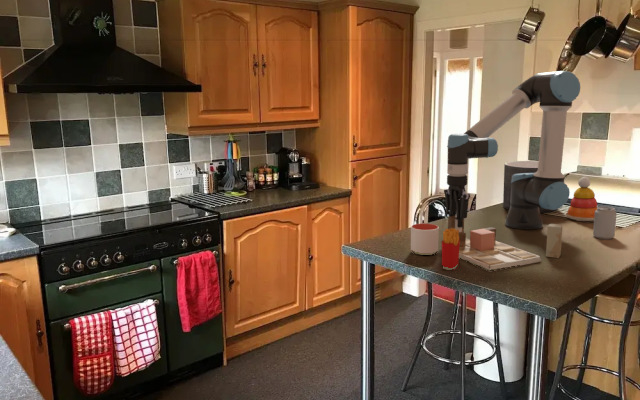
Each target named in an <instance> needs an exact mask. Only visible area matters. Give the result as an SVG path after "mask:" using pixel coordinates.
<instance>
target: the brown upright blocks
mask: <svg viewBox="0 0 640 400" xmlns="http://www.w3.org/2000/svg"><path fill="white" fill-rule="evenodd" d="M455 218H457V214H456V216H449V215H448V217H447V229H450V228H452V229H453V228H455ZM450 230H451V229H450ZM462 232H464V233H465V218H464V219H463V226H462ZM466 246H467V247H470V238H467V237H466ZM470 248H472V247H470ZM472 249H475V248H472ZM475 250H477V251H480V250H478V249H475ZM480 252H482V253H485V254H487V255H490V254H496V253H499V250H497V249H488V250H482V251H480Z"/></svg>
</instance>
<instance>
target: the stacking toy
mask: <svg viewBox="0 0 640 400" xmlns="http://www.w3.org/2000/svg"><path fill="white" fill-rule="evenodd" d="M590 185H591V180H590V178H589V177H588V176H582V177H581V178H579V180H578V186H579V187H578V188H576V189H575V190H574V193H573V198H571V200H570V206H569V208H568V209H567V212H566V213H565V215H566V218H568V219H571V220H572V221H573V220H574V221H576V222H594V216H595V211H596V210H597V207H598V202H597V199H596V197H595V195H596V194H595V192H594V191H593V189H591V188H590Z"/></svg>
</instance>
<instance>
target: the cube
mask: <svg viewBox="0 0 640 400" xmlns="http://www.w3.org/2000/svg"><path fill="white" fill-rule="evenodd" d="M469 232H470V235H469V239H470V247H472V248H475V249H478V250H480V251H482V250H488V249H494V239H495V232H492V231H489V230H486V229H483V228H479V229H473V230H470V231H469Z"/></svg>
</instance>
